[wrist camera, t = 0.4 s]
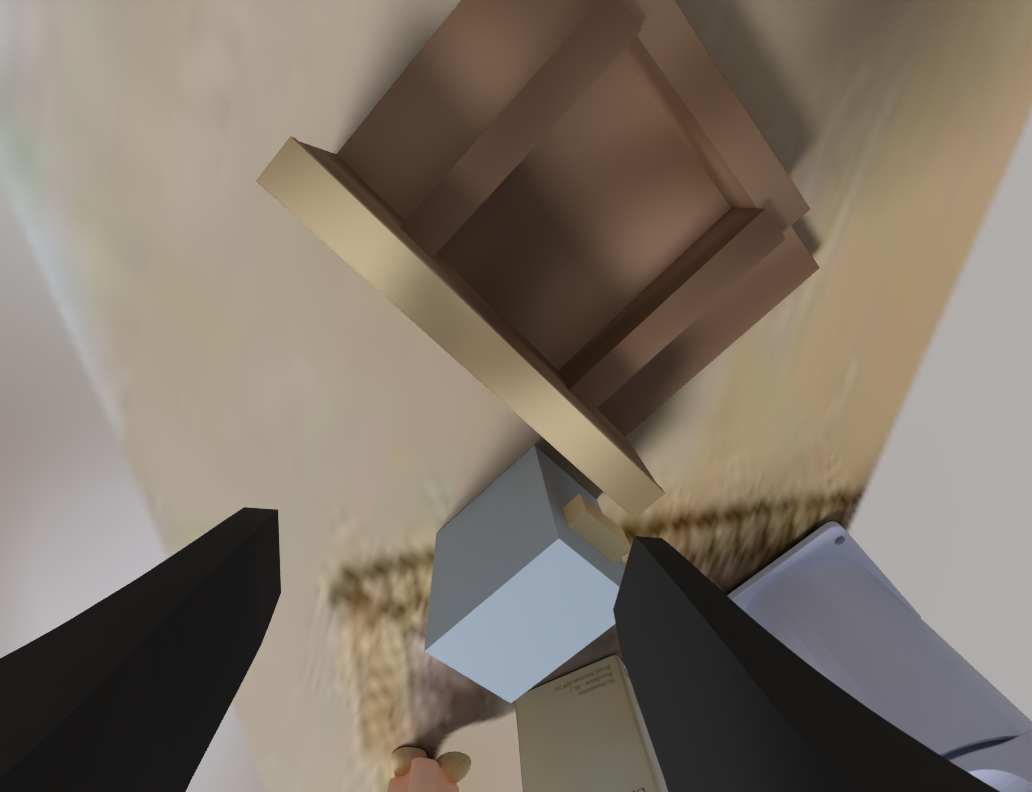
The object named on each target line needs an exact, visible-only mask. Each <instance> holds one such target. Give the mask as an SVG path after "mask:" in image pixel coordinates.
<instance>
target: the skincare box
mask: <svg viewBox="0 0 1032 792" xmlns="http://www.w3.org/2000/svg"><path fill="white" fill-rule="evenodd" d="M515 704H516V716H517V727H518V739H519V752H520V763H521V776H522V786H523V792H668V790H667V786H666V783H665V780H664V777H663V774H662V771H661V768H660V765H659V762H658V759H657V757H656V754H655V751H654V748H653V745H652V742H651V739H650V736H649V733H648V730H647V728H646V725H645V722H644V719H643V716H642V713H641V710H640V707H639V704H638V701H637V699H636V696H635V693H634V690H633V687H632V684H631V681H630V678H629V675H628V672H627V669H626V666H625V665H624V664H623V662H622V661H621V659H620V658H619V657H618V656H617V655H613V656H610V657H607V658H605V659H603V660H600V661H598V662H596V663H593V664H591V665H588V666H586V667H584V668H581V669H579V670H577V671H574V672H572V673H570V674H567V675H565V676H563V677H560V678H558V679H555V680H553V681H551V682H548V683H546V684H544V685H541V686H539V687H536V688H534V689H532V690H529V691H527V692H525V693H524V694H523V695H521V696H520V697H519V698H518V699H516V700H515Z"/></svg>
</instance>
